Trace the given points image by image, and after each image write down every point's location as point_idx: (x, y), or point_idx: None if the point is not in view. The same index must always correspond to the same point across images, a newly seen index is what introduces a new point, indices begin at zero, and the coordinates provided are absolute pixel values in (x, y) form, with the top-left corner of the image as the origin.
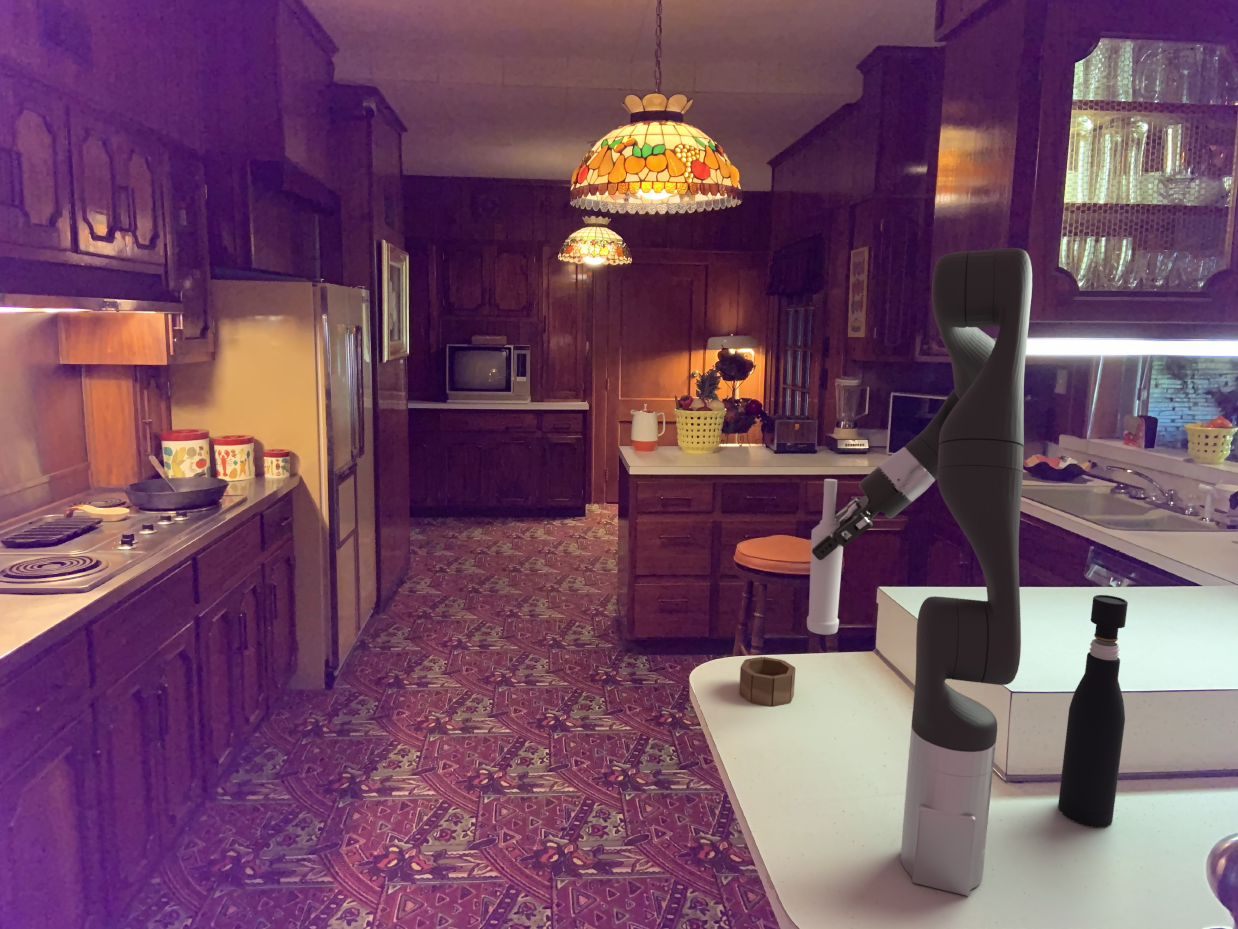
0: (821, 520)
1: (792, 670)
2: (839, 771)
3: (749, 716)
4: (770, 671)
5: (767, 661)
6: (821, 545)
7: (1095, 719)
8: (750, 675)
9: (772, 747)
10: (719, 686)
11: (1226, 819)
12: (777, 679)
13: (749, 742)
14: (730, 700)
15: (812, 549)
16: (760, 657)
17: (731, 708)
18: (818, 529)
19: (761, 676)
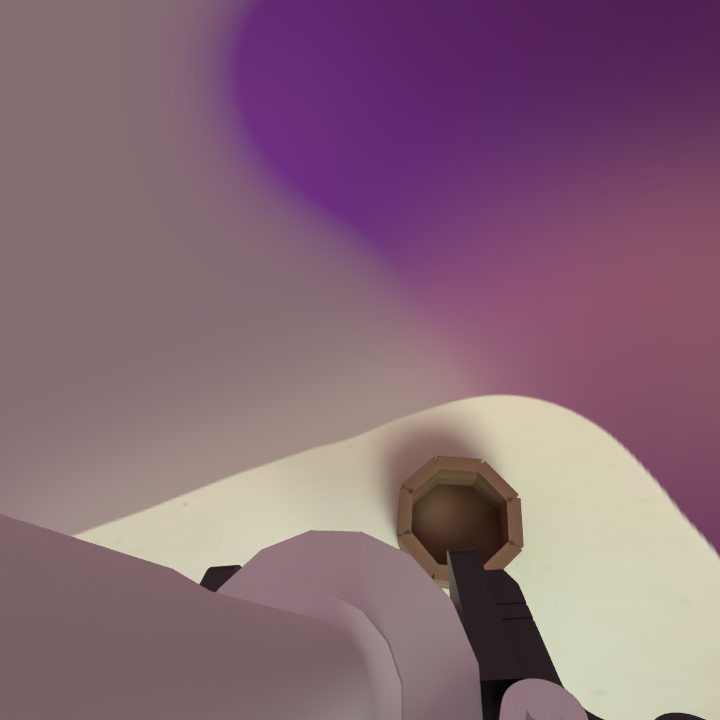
0: (299, 608)
1: None
2: None
3: (342, 508)
4: (502, 524)
5: (506, 510)
6: None
7: None
8: (405, 483)
9: (229, 565)
10: (454, 435)
11: None
12: (404, 545)
13: (241, 521)
14: (399, 464)
15: (219, 568)
16: (512, 491)
17: (366, 471)
18: (252, 588)
19: (399, 506)
